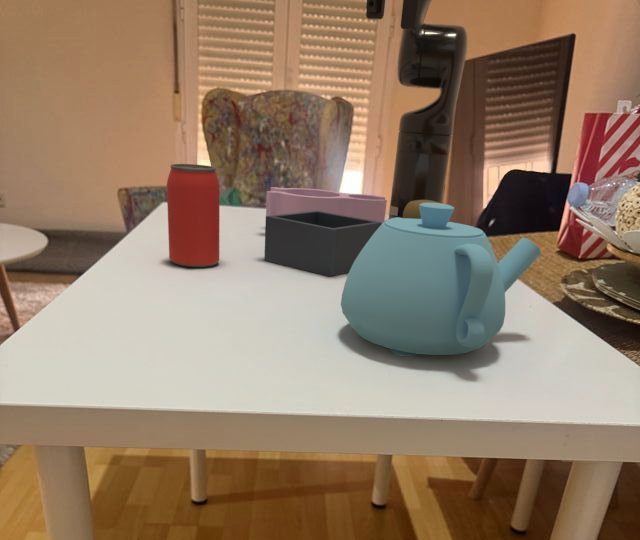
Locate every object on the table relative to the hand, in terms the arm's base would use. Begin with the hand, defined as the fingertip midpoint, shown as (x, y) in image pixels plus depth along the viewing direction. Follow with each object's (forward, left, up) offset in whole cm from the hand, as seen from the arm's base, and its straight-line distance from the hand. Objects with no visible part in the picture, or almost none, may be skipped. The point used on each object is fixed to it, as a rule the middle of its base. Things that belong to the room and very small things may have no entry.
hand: (392, 24), depth 81 cm
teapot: (+27, +26, -30) cm, 48 cm away
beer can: (+24, -12, -30) cm, 40 cm away
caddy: (+9, -2, -30) cm, 31 cm away
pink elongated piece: (-9, -15, -30) cm, 35 cm away
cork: (+14, +16, -30) cm, 37 cm away
